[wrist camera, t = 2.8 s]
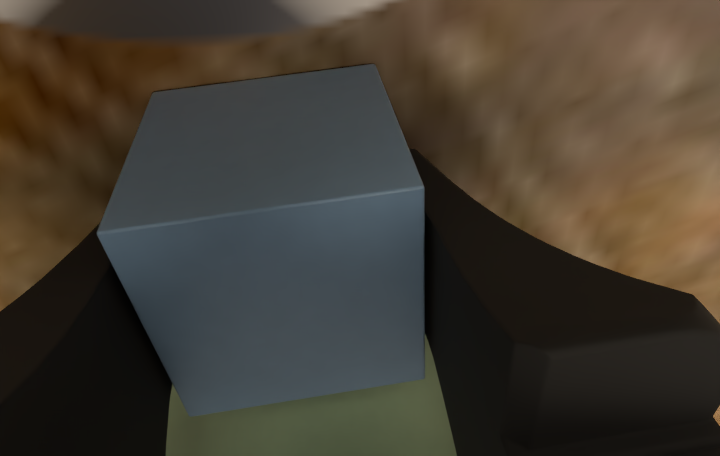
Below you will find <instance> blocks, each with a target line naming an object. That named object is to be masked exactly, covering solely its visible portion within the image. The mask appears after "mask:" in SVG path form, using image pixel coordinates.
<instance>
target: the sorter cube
mask: <svg viewBox="0 0 720 456" xmlns="http://www.w3.org/2000/svg"><path fill="white" fill-rule="evenodd" d="M97 236H98V238H99V240H100V242H101V244H102V246H103V248H104V250H105V252H106V254H107V256H108V258H109V260H110V262H111V264H112V266H113V267H114V269H115V271H116V273H117V275H118V277H119V279H120V281H121V283H122V285H123V287H124V289H125V291H126V293H127V295H128V297H129V299H130V301H131V303H132V305H133V307H134V309H135V311H136V313H137V315H138V317H139V319H140V321H141V323H142V325H143V327H144V329H145V330H146V332H147V334H148V336H149V338H150V340H151V342H152V344H153V346H154V348H155V350H156V352H157V354H158V356H159V358H160V360H161V362H162V364H163V366H164V368H165V370H166V372H167V374H168V376H169V378H170V380H171V382H172V384H173V386H174V388H175V390H176V392H177V394H178V395H179V397H180V399H181V401H182V403H183V405H184V407H185V409H186V411H187V413H188V415H189V416H190V417H193V416H199V415H205V414H211V413H218V412H224V411H230V410H236V409H242V408H249V407H255V406H261V405H267V404H273V403H280V402H286V401H292V400H298V399H304V398H311V397H317V396H323V395H329V394H335V393H342V392H348V391H354V390H360V389H366V388H373V387H379V386H385V385H391V384H397V383H404V382H410V381H416V380H422V379H424V378H425V214H424V185H423V183H422V180H421V178H420V175H419V173H418V170H417V168H416V165H415V163H414V160H413V158H412V155H411V153H410V150H409V148H408V145H407V143H406V140H405V138H404V135H403V133H402V130H401V128H400V125H399V123H398V120H397V118H396V115H395V113H394V110H393V108H392V105H391V103H390V100H389V98H388V95H387V93H386V90H385V88H384V85H383V83H382V80H381V78H380V75H379V73H378V70H377V68H376V65H375V64H369V65H361V66H353V67H346V68H338V69H330V70H322V71H315V72H307V73H299V74H291V75H284V76H276V77H268V78H260V79H253V80H245V81H237V82H229V83H222V84H214V85H206V86H198V87H191V88H183V89H175V90H167V91H160V92H153V93H152V95H151V98H150V100H149V103H148V105H147V108H146V110H145V113H144V115H143V118H142V120H141V123H140V125H139V128H138V130H137V133H136V135H135V138H134V140H133V143H132V145H131V148H130V150H129V153H128V155H127V158H126V160H125V163H124V165H123V168H122V170H121V173H120V175H119V178H118V180H117V183H116V185H115V188H114V190H113V193H112V195H111V198H110V200H109V203H108V205H107V208H106V210H105V213H104V215H103V218H102V220H101V223H100V225H99V228H98V230H97Z"/></svg>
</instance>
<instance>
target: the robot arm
mask: <svg viewBox="0 0 720 456" xmlns="http://www.w3.org/2000/svg"><path fill="white" fill-rule="evenodd" d="M409 150H410V153H411V155H412V158H413V160H414V163H415V165H416V168H417V170H418V173H419V175H420V178H421V180H422V183H423V185H424V214H425V334H426V337H427V340H428V343H429V346H430V349H431V352H432V356H433V359H434V363H435V367H436V371H437V375H438V379H439V383H440V387H441V391H442V395H443V399H444V403H445V407H446V411H447V415H448V420H449V424H450V428H451V432H452V436H453V441H454V445H455V449H456V454H457V456H720V426H719V425H718V423H717V422H716V421H715V419H714V418H713V415H714V413H715V412H716V410H717V408H718V407H719V405H720V324H719V323H718V322H717V320H716V319H715V318H714V317H713V316H712V314H711V313H710V312H709V311H708V310H707V309H706V308H705V307H704V306H703V305H702V304H701V302H700V301H698V300H697V299H696V298H695V297H694V295H692V294H689V293H685V292H681V291H678V290H674V289H671V288H667V287H664V286H660V285H657V284H653V283H650V282H646V281H642V280H639V279H635V278H632V277H629V276H626V275H623V274H621V273H618V272H615V271H612V270H609V269H607V268H604V267H601V266H598V265H596V264H593V263H591V262H588V261H585V260H583V259H580V258H578V257H576V256H573V255H571V254H569V253H567V252H565V251H562V250H560V249H558V248H556V247H554V246H551V245H549V244H547V243H545V242H543V241H541V240H539V239H537V238H535V237H533V236H531V235H530V234H528V233H526V232H524V231H522V230H521V229H519V228H517V227H515V226H514V225H512V224H510V223H508V222H507V221H505V220H504V219H502V218H500V217H499V216H497V215H496V214H494V213H493V212H491V211H490V210H488V209H487V208H486V207H484V206H483V205H481V204H480V203H478V202H477V201H475V200H474V199H473V198H471V197H470V196H469V195H468V194H466V193H465V192H464V191H463V190H461V189H460V188H459V187H458V186H456V185H455V184H454V183H453V182H452V181H450V180H449V179H448V178H447V177H446V176H445V175H444V174H442V173H441V172H440V171H439V170H438V169H437V168H436V167H435V166H433V165H432V164H431V163H430V162H429V161H428V160H427V159H426V158H425V157H424V156H422V155H421V154H420V153H419V152H418V151H417V150H415V149H409ZM100 223H101V222H100ZM100 223H99V224H98V225H97V226H96V227H95V228H94V229H93V230H92V232H91V233H90V234H89V235H88V236H87V237H86V238H85V239H84V240H83V241H82V242H81V243H80V244H79V245H78V246H77V247H75V248H74V249H73V250H72V251H71V252H70V253H69V254H68V255H67V256H66V257H65V258H64V259H63V260H61V261H60V262H59V263H58V264H57V265H56V266H55V267H54V268H53V269H52V270H51V271H50V272H48V273H47V274H46V275H45V276H44V277H43V278H42V279H41V280H39V281H38V282H37V283H36V284H35V285H34V286H32V287H31V288H30V289H29V290H27V291H26V292H25V293H24V294H23V295H21V296H20V297H19V298H17V299H16V300H15V301H14V302H12V303H11V304H10V305H8V306H7V307H6V308H4V309H3V310H2V311H1V312H0V456H166V440H167V428H168V416H169V403H170V395H171V389H172V382H171V380H170V378H169V376H168V374H167V372H166V370H165V368H164V366H163V364H162V362H161V360H160V358H159V356H158V354H157V352H156V350H155V348H154V346H153V344H152V342H151V340H150V338H149V336H148V334H147V332H146V330H145V329H144V327H143V325H142V323H141V321H140V319H139V317H138V315H137V313H136V311H135V309H134V307H133V305H132V303H131V301H130V299H129V297H128V295H127V293H126V291H125V289H124V287H123V285H122V283H121V281H120V279H119V277H118V275H117V273H116V271H115V269H114V267H113V266H112V264H111V262H110V260H109V258H108V256H107V254H106V252H105V250H104V248H103V246H102V244H101V242H100V240H99V238H98V236H97V230H98V228H99V225H100Z"/></svg>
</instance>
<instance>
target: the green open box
mask: <svg viewBox="0 0 720 456" xmlns="http://www.w3.org/2000/svg"><path fill="white" fill-rule="evenodd" d="M166 456H457V454H456V449H455V445H454V441H453V436H452V432H451V428H450V424H449V420H448V415H447V411H446V407H445V403H444V399H443V395H442V391H441V387H440V383H439V379H438V375H437V371H436V367H435V363H434V359H433V356H432V352H431V349H430V346H429V343H428V340H427V337H426V334H425V378H424V379H422V380H416V381H410V382H404V383H397V384H391V385H385V386H379V387H373V388H366V389H360V390H354V391H348V392H342V393H335V394H329V395H323V396H317V397H311V398H304V399H298V400H292V401H286V402H280V403H273V404H267V405H261V406H255V407H249V408H242V409H236V410H230V411H224V412H218V413H211V414H205V415H199V416H193V417H190V416H189V415H188V413H187V411H186V409H185V407H184V405H183V403H182V401H181V399H180V397H179V395H178V394H177V392H176V390H175V388H174V386H173V384H172V389H171V395H170V403H169V416H168V428H167V440H166Z"/></svg>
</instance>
